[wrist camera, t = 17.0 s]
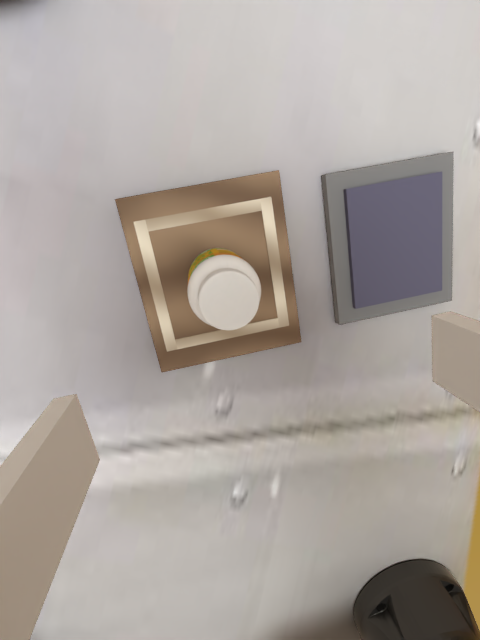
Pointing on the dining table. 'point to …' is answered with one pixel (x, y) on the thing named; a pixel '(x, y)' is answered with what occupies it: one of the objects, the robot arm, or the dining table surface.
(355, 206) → the ink pad
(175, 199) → the marking board
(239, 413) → the dining table surface
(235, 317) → the supplement bottle
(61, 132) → the dining table surface
